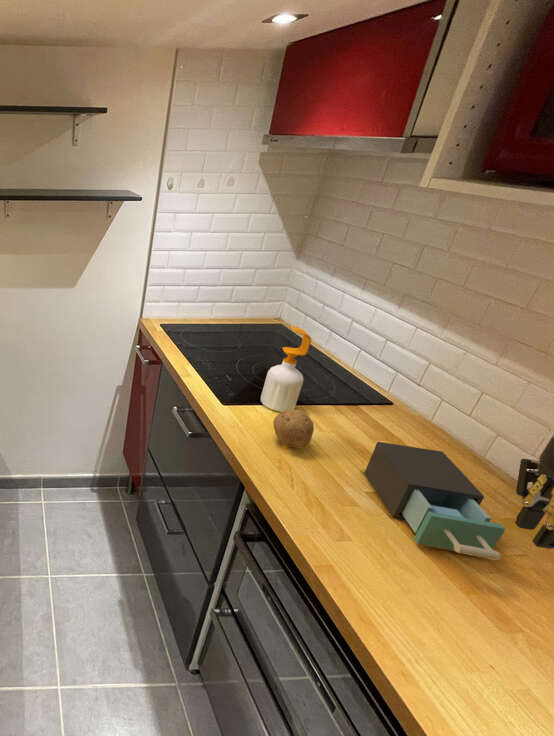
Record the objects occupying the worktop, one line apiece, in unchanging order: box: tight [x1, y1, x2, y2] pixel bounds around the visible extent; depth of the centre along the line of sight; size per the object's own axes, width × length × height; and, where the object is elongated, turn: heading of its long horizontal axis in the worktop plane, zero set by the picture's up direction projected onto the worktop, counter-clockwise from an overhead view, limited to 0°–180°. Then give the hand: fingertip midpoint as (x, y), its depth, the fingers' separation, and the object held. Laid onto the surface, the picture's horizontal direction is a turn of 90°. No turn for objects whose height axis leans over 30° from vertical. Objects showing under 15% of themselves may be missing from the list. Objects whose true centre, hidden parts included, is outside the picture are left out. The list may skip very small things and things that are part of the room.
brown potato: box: [273, 409, 315, 449], centre depth 113 cm, size 9×9×10 cm
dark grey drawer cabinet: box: [363, 441, 485, 521], centre depth 96 cm, size 14×13×9 cm
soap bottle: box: [260, 325, 312, 413], centre depth 127 cm, size 9×9×25 cm
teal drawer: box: [401, 488, 506, 561], centre depth 87 cm, size 18×11×7 cm, turn 165°
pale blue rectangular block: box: [431, 505, 464, 518], centre depth 87 cm, size 4×4×4 cm
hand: (532, 536), depth 69 cm, fingers open, 3 cm apart
